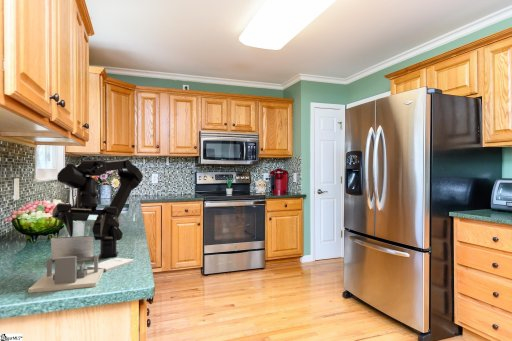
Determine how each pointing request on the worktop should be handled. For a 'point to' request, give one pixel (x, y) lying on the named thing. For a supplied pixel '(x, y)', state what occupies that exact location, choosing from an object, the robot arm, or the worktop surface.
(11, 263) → the worktop surface
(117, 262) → the external hard drive
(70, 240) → the brushed grey panel
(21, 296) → the worktop surface
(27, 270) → the worktop surface
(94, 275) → the board
